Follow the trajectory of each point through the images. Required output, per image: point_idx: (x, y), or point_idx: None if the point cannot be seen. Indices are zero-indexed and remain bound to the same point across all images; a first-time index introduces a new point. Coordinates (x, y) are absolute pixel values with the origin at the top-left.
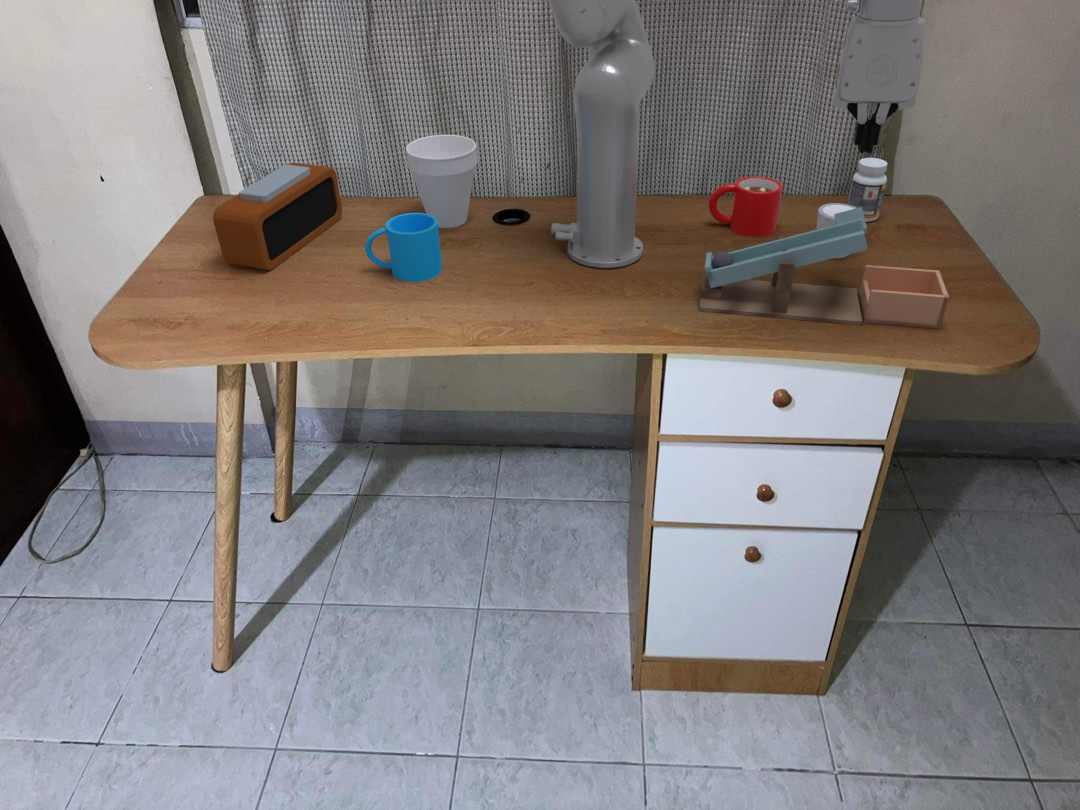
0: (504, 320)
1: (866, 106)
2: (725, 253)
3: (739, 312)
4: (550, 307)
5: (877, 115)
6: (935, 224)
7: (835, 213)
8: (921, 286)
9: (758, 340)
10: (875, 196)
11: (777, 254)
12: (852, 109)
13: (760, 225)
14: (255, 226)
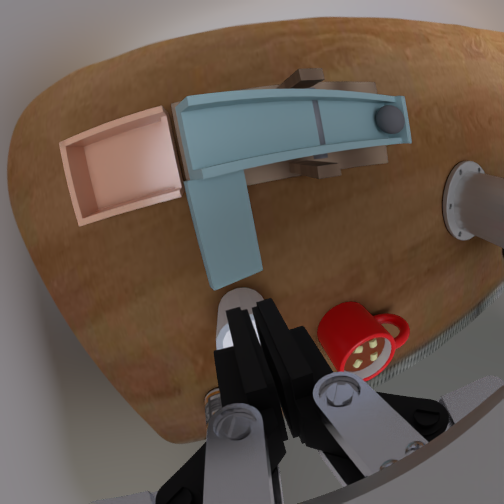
0: (480, 59)
1: (364, 455)
2: (396, 116)
3: (330, 82)
4: (469, 80)
5: (263, 438)
6: (145, 403)
7: (257, 334)
8: (103, 209)
9: (293, 32)
10: (213, 413)
11: (333, 91)
12: (417, 411)
13: (342, 314)
14: None
